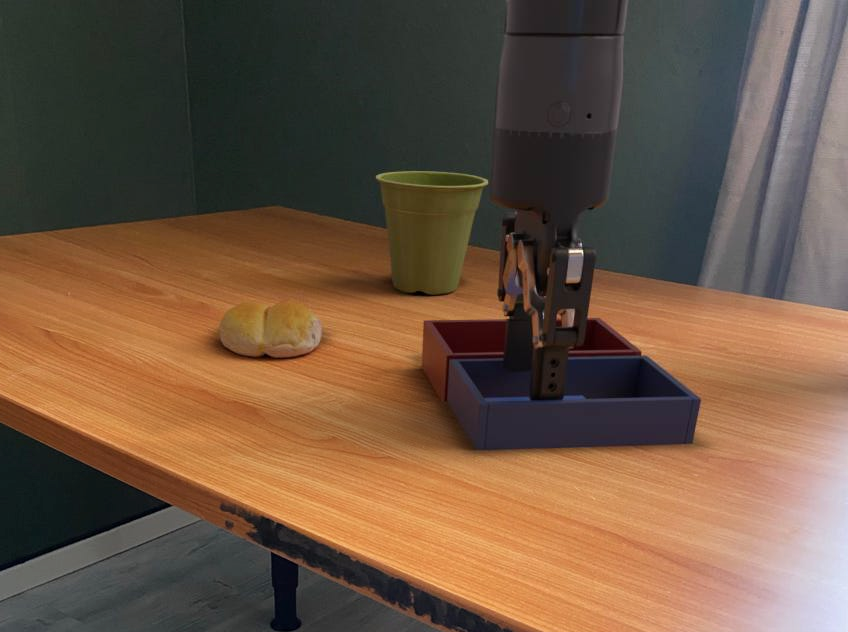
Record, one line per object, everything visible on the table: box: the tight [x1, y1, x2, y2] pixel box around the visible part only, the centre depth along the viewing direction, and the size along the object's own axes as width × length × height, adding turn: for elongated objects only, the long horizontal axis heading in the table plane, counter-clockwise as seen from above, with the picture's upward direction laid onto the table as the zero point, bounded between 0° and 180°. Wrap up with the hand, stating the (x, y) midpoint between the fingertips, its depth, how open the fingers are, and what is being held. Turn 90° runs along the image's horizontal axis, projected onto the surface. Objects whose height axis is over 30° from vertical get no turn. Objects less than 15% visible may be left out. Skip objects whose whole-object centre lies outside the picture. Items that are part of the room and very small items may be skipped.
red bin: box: [421, 317, 643, 403], centre depth 80 cm, size 15×10×4 cm
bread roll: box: [218, 299, 323, 359], centre depth 88 cm, size 8×9×4 cm
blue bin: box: [446, 355, 702, 452], centre depth 71 cm, size 15×10×4 cm
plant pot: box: [375, 170, 489, 296], centre depth 107 cm, size 12×12×11 cm
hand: (531, 385), depth 70 cm, fingers open, 7 cm apart
